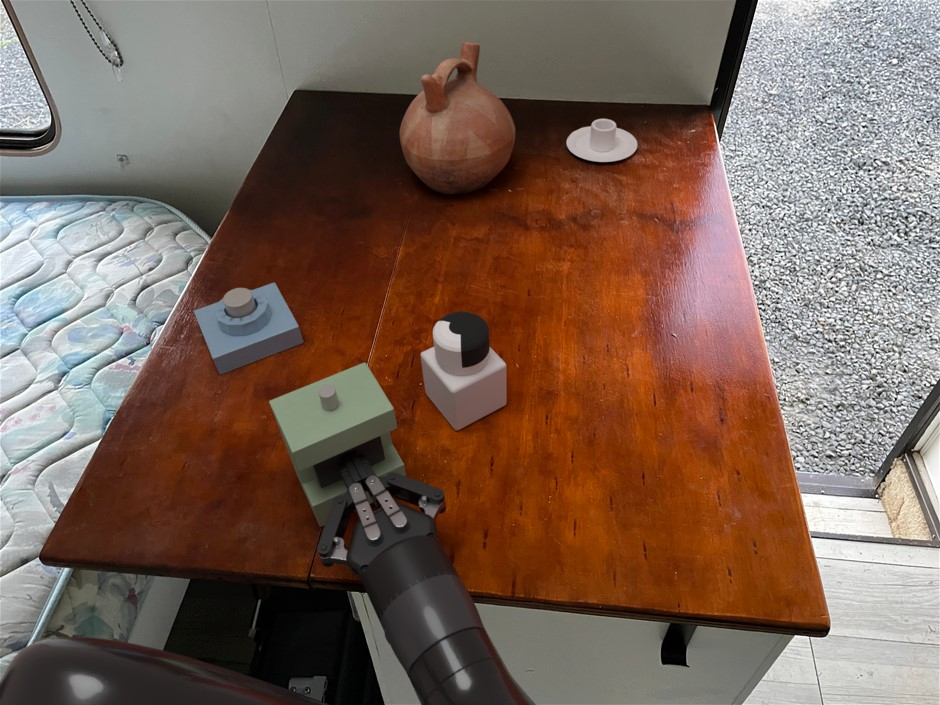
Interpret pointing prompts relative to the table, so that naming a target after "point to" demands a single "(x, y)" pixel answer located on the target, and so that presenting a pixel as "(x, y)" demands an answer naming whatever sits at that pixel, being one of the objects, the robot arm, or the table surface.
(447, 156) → the jug
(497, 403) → the medicine bottle
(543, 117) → the table surface
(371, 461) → the paddle
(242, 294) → the short grey cylinder plug
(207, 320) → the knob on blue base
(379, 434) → the green block with peg
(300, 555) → the table surface
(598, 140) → the candle holder
